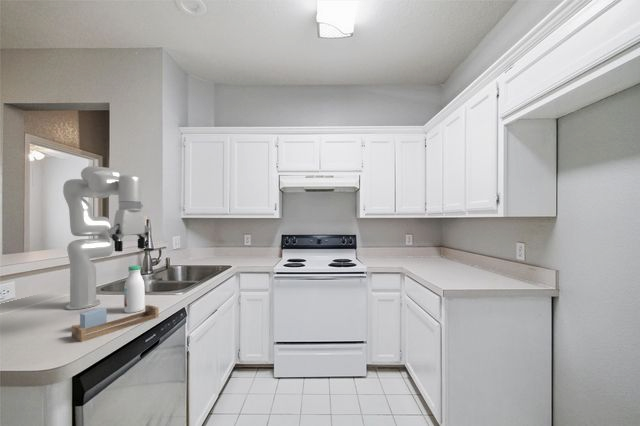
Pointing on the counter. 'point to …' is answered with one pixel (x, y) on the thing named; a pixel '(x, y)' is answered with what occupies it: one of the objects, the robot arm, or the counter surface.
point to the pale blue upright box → (93, 318)
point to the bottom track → (81, 332)
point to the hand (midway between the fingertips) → (130, 249)
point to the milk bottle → (134, 291)
